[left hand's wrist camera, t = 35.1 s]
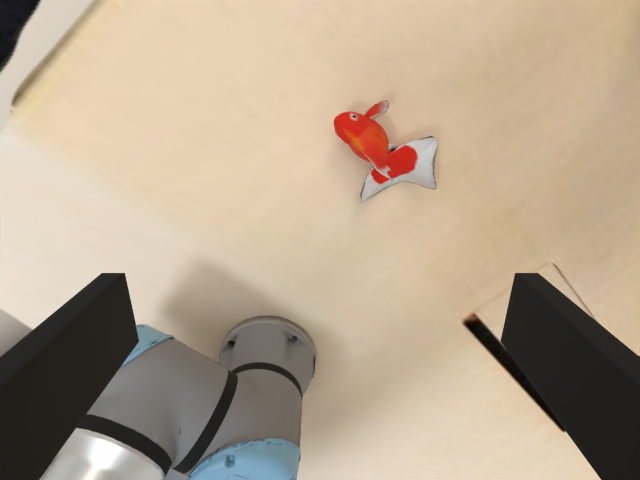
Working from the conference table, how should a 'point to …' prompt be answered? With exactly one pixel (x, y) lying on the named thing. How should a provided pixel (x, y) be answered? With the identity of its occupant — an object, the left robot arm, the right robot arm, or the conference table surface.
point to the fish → (386, 152)
